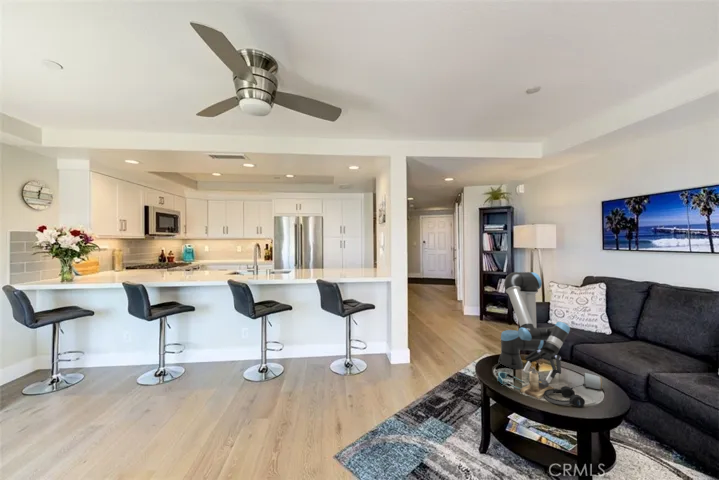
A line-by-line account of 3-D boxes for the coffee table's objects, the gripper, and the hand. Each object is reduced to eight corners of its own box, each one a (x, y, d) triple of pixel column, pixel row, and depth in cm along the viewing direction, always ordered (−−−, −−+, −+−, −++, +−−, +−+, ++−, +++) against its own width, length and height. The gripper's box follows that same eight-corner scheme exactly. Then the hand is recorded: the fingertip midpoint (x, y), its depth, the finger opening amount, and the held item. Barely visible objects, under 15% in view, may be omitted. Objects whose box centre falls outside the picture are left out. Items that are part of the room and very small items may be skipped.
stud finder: (534, 385, 174) (534, 381, 174) (539, 382, 177) (539, 378, 177) (543, 388, 170) (543, 384, 170) (548, 386, 173) (548, 381, 173)
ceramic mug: (602, 392, 169) (602, 378, 170) (584, 388, 174) (584, 375, 174) (599, 385, 178) (599, 372, 179) (582, 382, 183) (582, 369, 183)
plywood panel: (520, 391, 169) (520, 389, 169) (535, 383, 180) (535, 381, 180) (539, 399, 161) (539, 396, 161) (553, 390, 171) (553, 387, 171)
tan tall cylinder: (528, 389, 169) (527, 367, 169) (531, 387, 171) (531, 365, 172) (536, 392, 165) (536, 369, 166) (540, 390, 168) (539, 367, 168)
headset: (591, 388, 152) (549, 390, 155) (594, 407, 151) (552, 409, 154) (577, 377, 165) (538, 379, 168) (579, 395, 164) (540, 396, 168)
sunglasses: (498, 376, 190) (499, 368, 190) (525, 385, 182) (526, 377, 182) (495, 384, 178) (496, 376, 178) (523, 394, 170) (524, 386, 170)
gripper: (578, 357, 164) (561, 390, 158) (535, 343, 187) (519, 371, 181) (572, 348, 162) (554, 382, 156) (529, 335, 185) (512, 364, 178)
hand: (535, 376), depth 168 cm, fingers open, 13 cm apart
